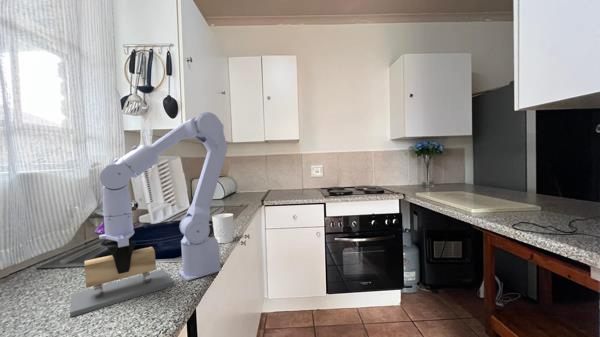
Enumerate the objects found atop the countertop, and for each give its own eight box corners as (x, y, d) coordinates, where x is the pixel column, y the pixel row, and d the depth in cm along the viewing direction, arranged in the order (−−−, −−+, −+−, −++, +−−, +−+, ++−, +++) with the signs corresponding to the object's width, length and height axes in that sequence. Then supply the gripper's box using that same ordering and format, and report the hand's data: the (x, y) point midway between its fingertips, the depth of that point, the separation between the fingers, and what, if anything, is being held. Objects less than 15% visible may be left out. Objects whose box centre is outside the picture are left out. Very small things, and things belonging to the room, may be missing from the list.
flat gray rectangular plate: (163, 272, 78) (162, 262, 78) (173, 285, 69) (173, 273, 69) (71, 298, 65) (70, 285, 65) (70, 317, 57) (69, 303, 56)
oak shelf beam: (86, 281, 64) (84, 260, 64) (153, 265, 73) (151, 246, 73) (86, 287, 61) (84, 265, 61) (156, 269, 70) (154, 250, 69)
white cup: (210, 241, 106) (208, 216, 105) (228, 237, 111) (227, 212, 111) (219, 245, 100) (217, 218, 100) (238, 240, 105) (237, 214, 105)
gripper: (96, 213, 70) (100, 266, 70) (99, 221, 58) (104, 284, 59) (128, 209, 74) (132, 258, 74) (137, 215, 63) (142, 274, 63)
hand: (122, 269), depth 67 cm, fingers closed on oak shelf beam, 4 cm apart
